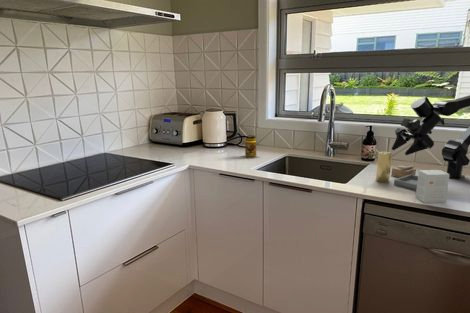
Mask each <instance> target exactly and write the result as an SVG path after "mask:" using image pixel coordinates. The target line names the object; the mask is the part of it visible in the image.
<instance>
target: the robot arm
mask: <svg viewBox="0 0 470 313" xmlns="http://www.w3.org/2000/svg"><path fill="white" fill-rule="evenodd" d="M468 107H470V94H469V95H467V96H462V97H459V98H455V99H450V100H449V99H444V100H437V101H435V102H434V103H432V102H431V101H430V100H429V98H428V96H422V97H421V98H419V99H417V100H414V101H413V102H412V103H411V105H410V109H412V111H413V112H415V114H416V115H417V116H418V118H422V119H421V120H419V119H417V118H416V119H410V118H406V117H404V118H403V119H402V121H401V123H400V126H401V127H402V128H401V127H397V129H395V130H394V132H395V133H394V134H395V135H396V138H395V141H394V143H393V144H392V147H391V150H392V151H395V150H397V149H398V148H399V149H400V147H402V146H403V145H405V144H407V143H408V142H409V141H410V140H413V143H412V144H411V145H410V146H409V147H408V149H407V150H406V151H405V152H404V155H405V156H409V155H411V154H414V153H417V152H420V151H423V150H428V149H430V150H431V149H432V148H433V147H434V145H435V142H434V141H435V140H433V139H432V137H431V136H429V135H431V134H432V133H433V131H432V130H433V129H435V127H437V126H438V125H441V126H445V118H443V117H441V116H445V117H450V116H452V115H454V114H456V113H458V111H459V110H462V109H465V108H468ZM403 127H404V128H403ZM405 128H407V129H405ZM469 146H470V126H468V127H467V129H466V130H465V131H464V132H462V134H461V135H460V136H459V137H458V138H457V139H455V140H453V139H449V140H448V141H447V142H446V143H445V144H444V145H443V148H442V150H441V156H442V159H443V161H444V162H446V163H447V166H446V171H445V172H446V173H448V174H450V175H449V179H450V178H451V179H455V180H461V179H462V178H465V177H466V176H465V175H464V174H463V170H464V169H463V168H464V166H468V165H469V164H470V158H469V157H468V156H467V154H468V151H469Z"/></svg>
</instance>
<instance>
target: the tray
mask: <svg viewBox="0 0 470 313" xmlns="http://www.w3.org/2000/svg"><path fill="white" fill-rule="evenodd" d="M417 181H418V175H416V174H415V175H411V174H410V175H407V176H404V177H401V178H400V177H396V178H395V179H394V181H393V185H394V186H397V187H401V188H405V189H409V190H413V191H416V190H417Z"/></svg>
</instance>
